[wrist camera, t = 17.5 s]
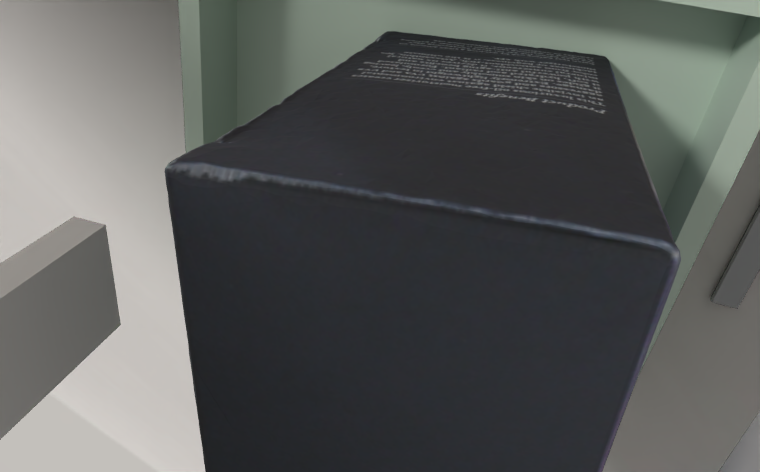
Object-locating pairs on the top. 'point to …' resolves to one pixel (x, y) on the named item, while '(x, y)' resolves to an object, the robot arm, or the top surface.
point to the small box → (422, 266)
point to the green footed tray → (518, 27)
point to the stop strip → (740, 268)
